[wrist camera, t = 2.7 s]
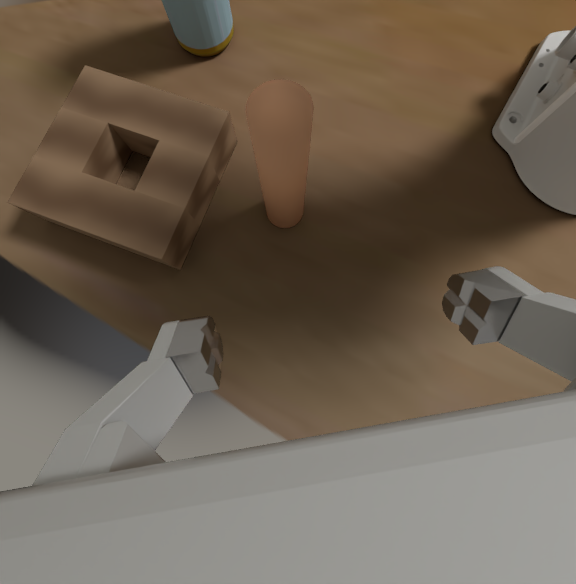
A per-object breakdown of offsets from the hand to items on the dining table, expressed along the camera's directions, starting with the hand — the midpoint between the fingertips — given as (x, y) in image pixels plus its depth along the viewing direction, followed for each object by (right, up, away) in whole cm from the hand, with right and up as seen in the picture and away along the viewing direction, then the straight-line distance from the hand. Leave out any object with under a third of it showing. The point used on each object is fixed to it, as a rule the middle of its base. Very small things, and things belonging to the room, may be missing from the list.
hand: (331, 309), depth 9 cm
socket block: (-18, +13, +20) cm, 29 cm away
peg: (-2, +9, +19) cm, 21 cm away
